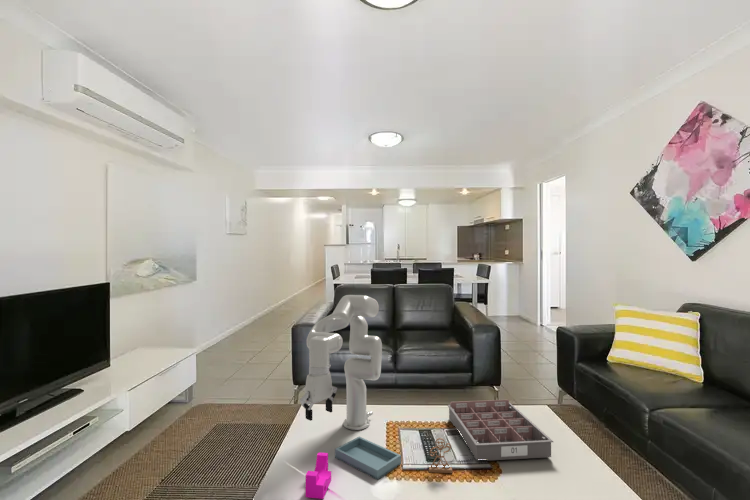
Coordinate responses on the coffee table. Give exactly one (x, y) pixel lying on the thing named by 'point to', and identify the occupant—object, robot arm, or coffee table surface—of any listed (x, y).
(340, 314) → the robot arm
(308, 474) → the toy block
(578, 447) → the coffee table surface
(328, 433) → the coffee table surface
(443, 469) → the wooden figure on stand
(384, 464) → the slate tray
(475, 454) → the organizer tray
